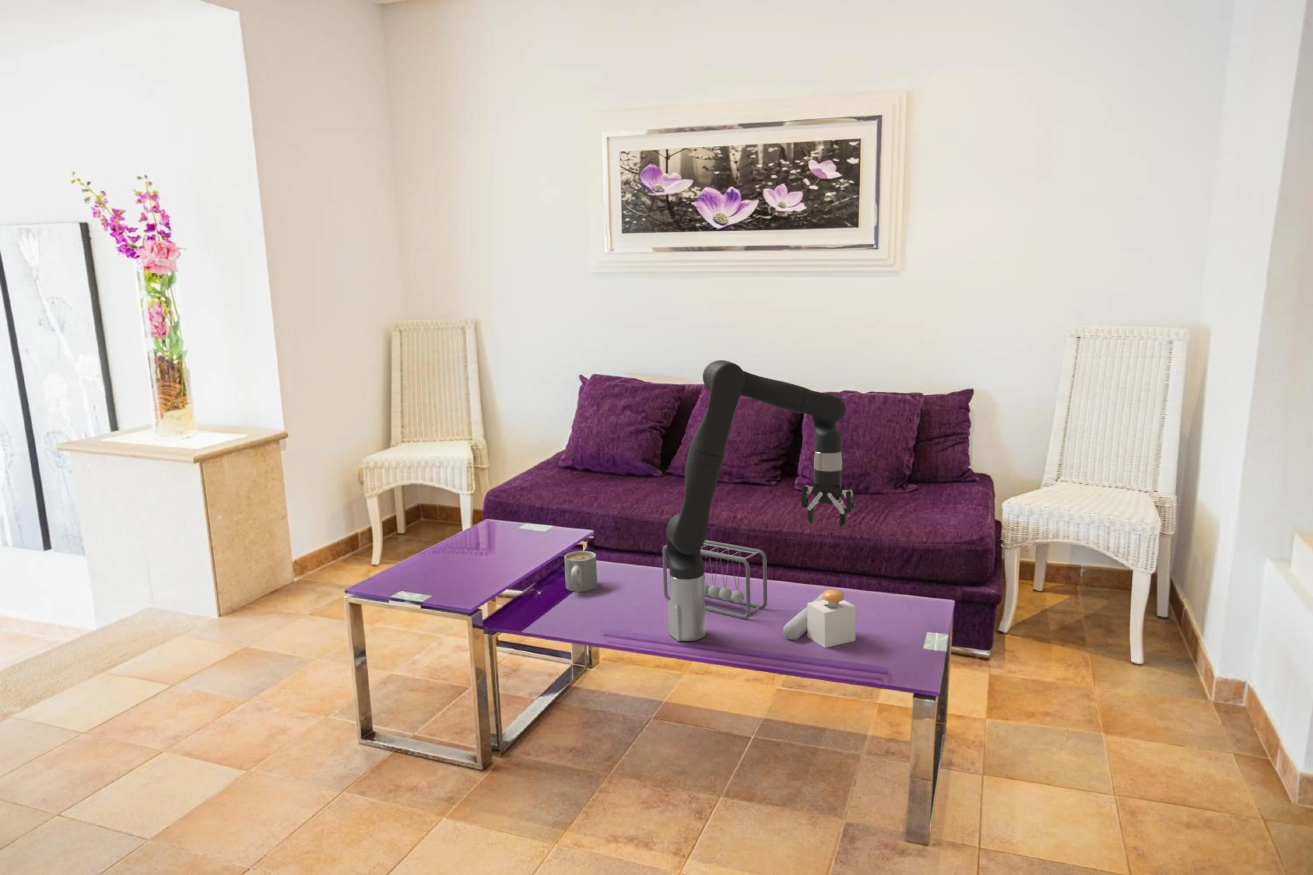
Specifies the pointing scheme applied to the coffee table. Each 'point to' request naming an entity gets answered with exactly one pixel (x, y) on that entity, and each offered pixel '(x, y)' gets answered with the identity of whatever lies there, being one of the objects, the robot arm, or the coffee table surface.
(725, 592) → the newton's cradle
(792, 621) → the tube
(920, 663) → the coffee table surface
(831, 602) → the orange rounded lump
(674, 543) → the robot arm
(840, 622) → the housing
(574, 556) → the coffee mug
